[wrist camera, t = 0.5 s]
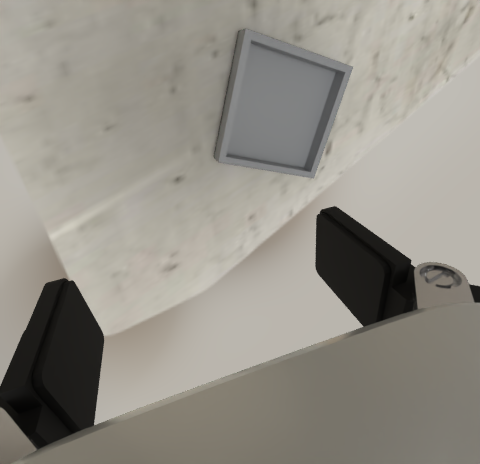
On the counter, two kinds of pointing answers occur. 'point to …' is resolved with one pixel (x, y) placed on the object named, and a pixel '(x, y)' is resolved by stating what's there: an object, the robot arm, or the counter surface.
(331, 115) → the tray
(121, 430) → the robot arm
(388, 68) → the counter surface
